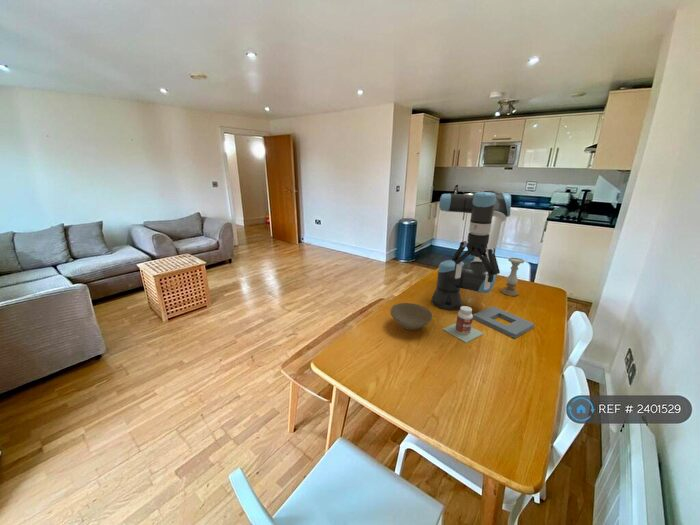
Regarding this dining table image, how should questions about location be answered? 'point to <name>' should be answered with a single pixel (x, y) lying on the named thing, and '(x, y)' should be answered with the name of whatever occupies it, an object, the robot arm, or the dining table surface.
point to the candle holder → (512, 278)
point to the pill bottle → (464, 320)
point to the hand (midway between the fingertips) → (471, 283)
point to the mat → (463, 337)
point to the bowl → (411, 315)
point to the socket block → (512, 329)
